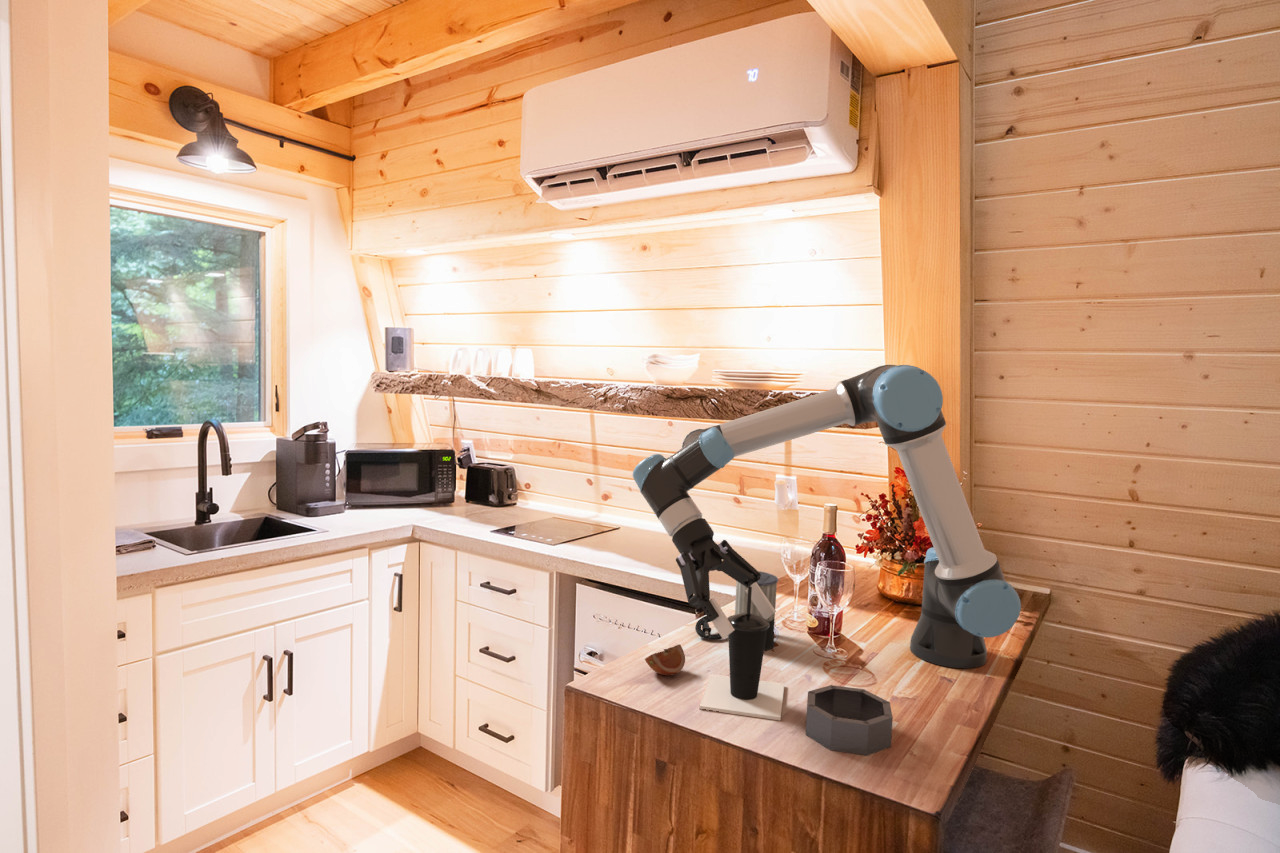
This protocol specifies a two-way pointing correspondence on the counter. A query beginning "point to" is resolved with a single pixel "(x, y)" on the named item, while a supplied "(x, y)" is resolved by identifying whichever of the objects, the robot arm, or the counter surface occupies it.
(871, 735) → the grey octagonal ring
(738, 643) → the drinking cup
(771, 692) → the coaster
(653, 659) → the fruit slice
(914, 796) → the counter surface
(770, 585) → the milk frother
